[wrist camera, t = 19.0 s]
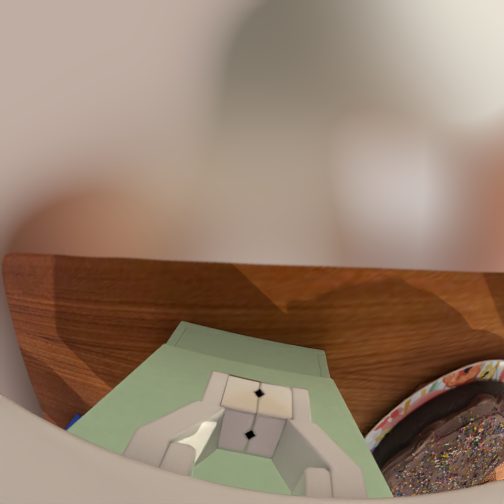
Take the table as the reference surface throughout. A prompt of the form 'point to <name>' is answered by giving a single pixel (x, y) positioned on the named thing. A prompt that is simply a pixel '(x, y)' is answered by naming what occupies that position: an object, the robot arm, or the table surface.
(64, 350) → the table surface
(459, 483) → the chocolate cake
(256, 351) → the box
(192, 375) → the lunchbox lid
